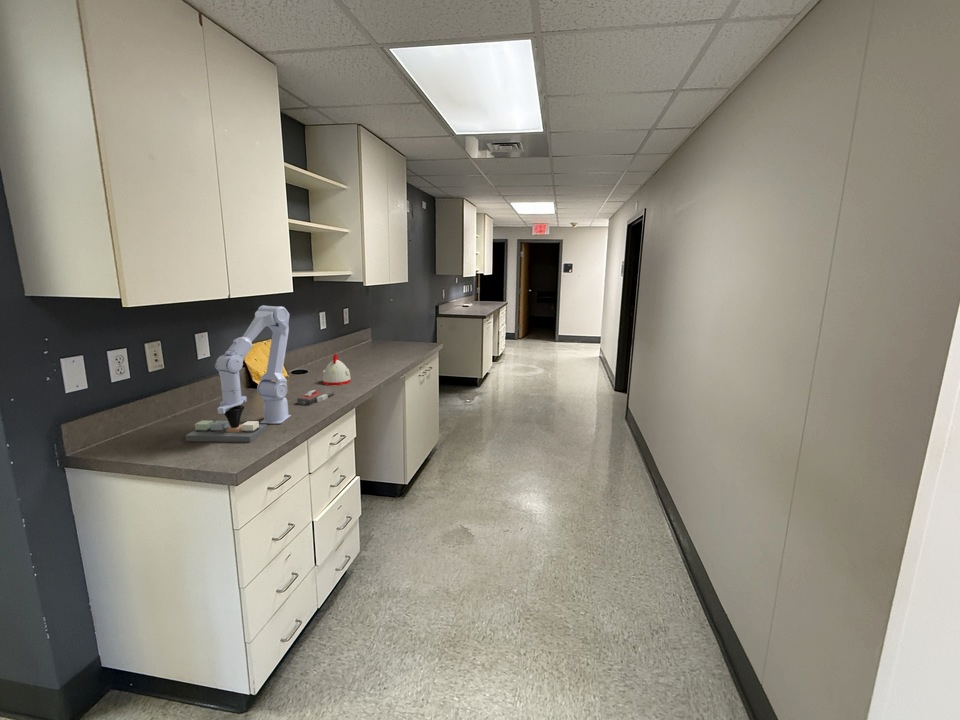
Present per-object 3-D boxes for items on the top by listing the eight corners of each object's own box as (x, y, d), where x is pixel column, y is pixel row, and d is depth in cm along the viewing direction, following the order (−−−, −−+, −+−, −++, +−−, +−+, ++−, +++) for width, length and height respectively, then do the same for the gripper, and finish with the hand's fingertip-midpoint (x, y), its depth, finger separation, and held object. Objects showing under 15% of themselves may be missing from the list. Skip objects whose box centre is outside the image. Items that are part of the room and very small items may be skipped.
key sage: (202, 428, 158) (201, 420, 158) (214, 428, 158) (213, 420, 158) (195, 432, 154) (194, 424, 154) (207, 432, 154) (206, 424, 154)
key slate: (217, 428, 158) (217, 420, 158) (229, 428, 158) (228, 420, 158) (211, 432, 154) (210, 424, 154) (222, 432, 154) (221, 424, 154)
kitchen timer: (319, 385, 225) (318, 356, 222) (326, 379, 238) (324, 351, 235) (348, 385, 226) (346, 356, 223) (352, 379, 239) (351, 351, 236)
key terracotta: (233, 432, 158) (232, 424, 158) (244, 433, 158) (243, 425, 158) (227, 437, 155) (226, 428, 154) (238, 437, 154) (237, 429, 154)
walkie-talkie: (312, 407, 191) (337, 394, 210) (312, 397, 190) (336, 385, 209) (294, 405, 193) (320, 393, 212) (293, 395, 192) (319, 384, 211)
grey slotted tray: (207, 428, 162) (207, 423, 162) (267, 429, 162) (267, 424, 162) (186, 441, 151) (185, 435, 150) (250, 442, 151) (250, 436, 150)
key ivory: (248, 429, 158) (247, 421, 158) (259, 429, 158) (258, 421, 157) (242, 433, 154) (241, 424, 154) (253, 433, 154) (252, 425, 154)
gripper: (231, 384, 160) (235, 420, 163) (206, 395, 146) (211, 434, 149) (251, 384, 160) (254, 420, 163) (228, 395, 146) (232, 434, 149)
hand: (235, 427), depth 156 cm, fingers closed, pressing on key terracotta
